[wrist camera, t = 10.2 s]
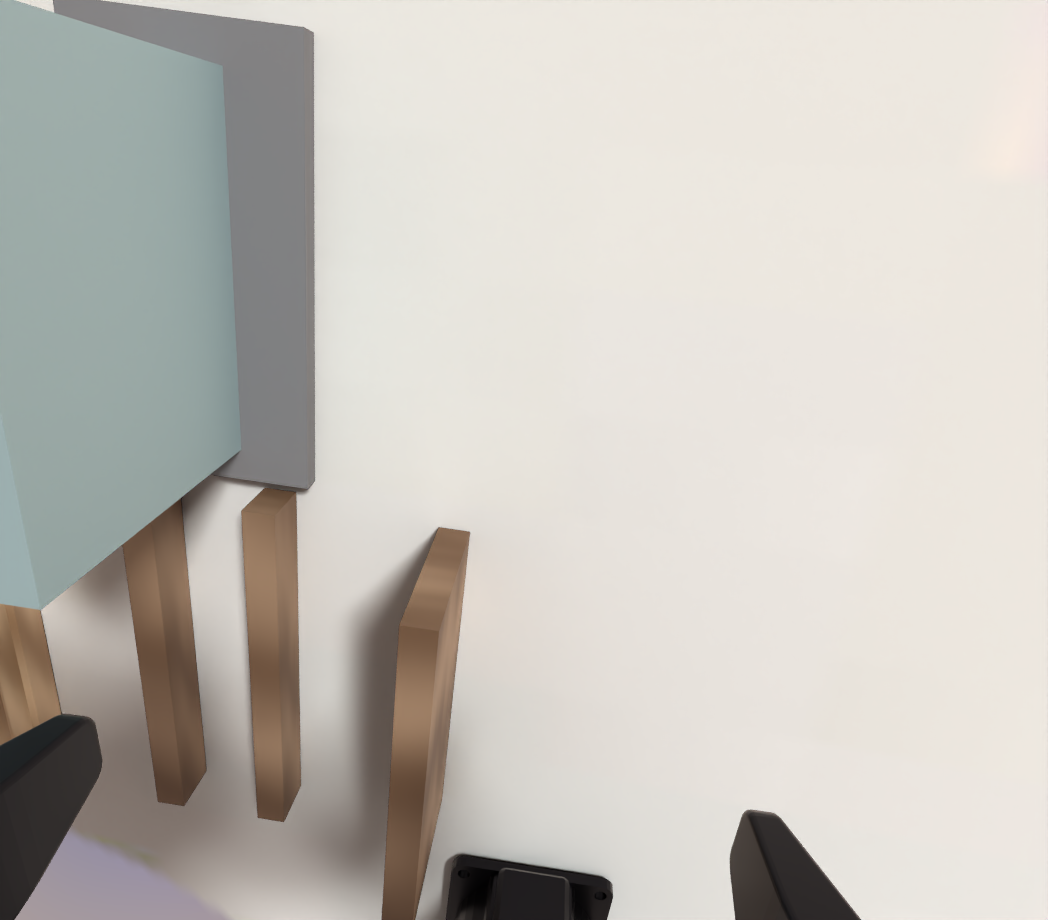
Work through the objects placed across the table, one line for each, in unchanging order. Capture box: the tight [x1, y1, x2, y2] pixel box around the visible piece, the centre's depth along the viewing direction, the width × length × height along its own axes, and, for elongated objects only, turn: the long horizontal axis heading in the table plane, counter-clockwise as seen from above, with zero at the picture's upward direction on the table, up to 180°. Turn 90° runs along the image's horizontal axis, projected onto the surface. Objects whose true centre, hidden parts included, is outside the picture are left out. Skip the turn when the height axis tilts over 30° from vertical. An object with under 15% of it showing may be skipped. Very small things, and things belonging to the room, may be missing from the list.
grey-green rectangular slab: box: [0, 0, 241, 610], centre depth 14 cm, size 10×2×8 cm, turn 173°
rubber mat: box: [53, 0, 315, 489], centre depth 18 cm, size 12×6×1 cm, turn 173°
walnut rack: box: [123, 488, 470, 920], centre depth 21 cm, size 13×10×5 cm
